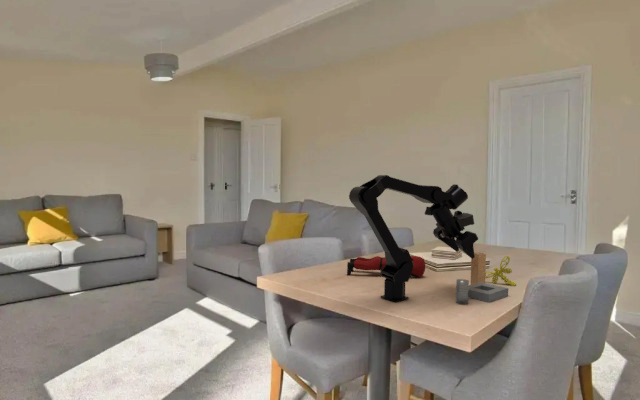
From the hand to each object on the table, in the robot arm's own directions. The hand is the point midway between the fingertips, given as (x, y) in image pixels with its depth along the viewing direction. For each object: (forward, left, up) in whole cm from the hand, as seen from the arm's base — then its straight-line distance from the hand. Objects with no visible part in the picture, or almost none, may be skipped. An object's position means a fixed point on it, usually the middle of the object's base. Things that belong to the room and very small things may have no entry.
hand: (465, 254), depth 148 cm
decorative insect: (+19, -2, -13) cm, 23 cm away
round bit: (-14, -8, -12) cm, 20 cm away
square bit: (+8, 0, -12) cm, 15 cm away
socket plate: (-1, -8, -12) cm, 15 cm away
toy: (-4, +32, -13) cm, 35 cm away
